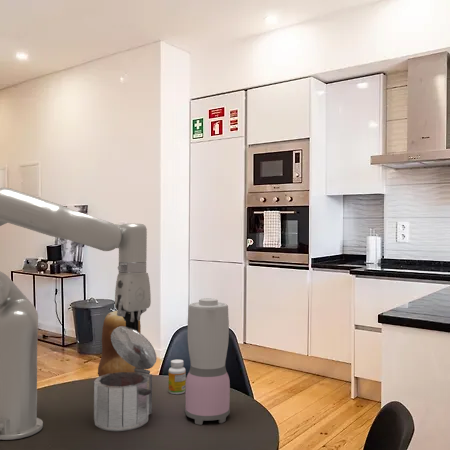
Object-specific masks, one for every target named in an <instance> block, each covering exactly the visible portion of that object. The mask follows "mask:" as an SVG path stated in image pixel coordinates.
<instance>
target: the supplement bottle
mask: <svg viewBox="0 0 450 450" xmlns="http://www.w3.org/2000/svg"><path fill="white" fill-rule="evenodd" d="M184 365H185V364H184V360H183V359H172V360H170V366H171V367H169V369H168V381H167V382H168V388H167V390H168V393H169V394H171V395H182V394H184V393H186V378H187V375H186V374H187V373H186V368H185V367H184Z"/></svg>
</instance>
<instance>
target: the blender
mask: <svg viewBox="0 0 450 450" xmlns="http://www.w3.org/2000/svg"><path fill="white" fill-rule="evenodd" d="M187 313H188V314H187V347H188V354H189V361H190V368H189V371H188V373H187V375H186V389H185V409H184V411H185V412H184V413H185V415H186V416H187V417H188V418H190V419H193V420H194V423H195V425H200V426H201V425H203V424H204V421H206V422H207V421H217V420H218V423H219V424H224V423H225V422H226V421H227V417H228V416H229V415H230V414H231V413H230V412H231V407H230V399H231V398H230V397H231V395H230V392H231V391H230V390H231V384H230V383H231V382H230V376H229V373H228V372H227V368H226V361H227V354H228V347H229V338H230V337H229V334H230V330H229V329H230V325H229V323H230V320H229V306H228V304H226V303H225V302H219V300H218V299H217V298H199V300H198V301H197V302H191V303H189V305H188V311H187Z"/></svg>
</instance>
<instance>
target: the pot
mask: <svg viewBox="0 0 450 450" xmlns="http://www.w3.org/2000/svg"><path fill="white" fill-rule="evenodd" d="M93 383H94V385H93V390H94V391H93V420H94V425H95V427H97V428H98V429H100V430H103V431H107V432H125V431H127V432H128V431H132V430H137V429H139V428H141V427H143V426H145V425H146V424H147V423H148V422H149V416H150V415H151V414H152V413H153V374H152V373H151V374H146V373H141V372H117V373H109V374H106V375H103V376H100V377H99V376H98V377H96V378H95V380H94V381H93Z"/></svg>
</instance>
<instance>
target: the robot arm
mask: <svg viewBox="0 0 450 450" xmlns="http://www.w3.org/2000/svg"><path fill="white" fill-rule="evenodd" d="M6 224H9V225H14V226H18V227H20V228H24V229H27V230H29V231H33V232H36V233H39V234H43V235H46V236H49V237H53V238H58V239H63V240H68V241H70V242H74V243H78V244H80V245H84V246H87V247H90V248H94V249H96V250H99V251H103V252H111V251H113V250H115V249H118V266H117V270H118V274H117V276H116V282H115V289H114V291H115V293H114V305H115V306H114V307H115V311H117V316H122V317H123V318H124V321H126V327H130V328H132V329H134V330H136V331H138V321H139V320H140V321H141V316H142V314H143V313H145V312H147V309H149V308H150V307H151V304H152V297H151V296H152V295H151V284H150V277H149V273H148V272H147V251H148V250H147V246H148V245H147V238H148V237H147V236H148V234H147V233H148V231H147V230H148V229H147V226H146V225H145V224H142V223H123V224H115V223H112V222H110V221H107V220H104V219H101V218H98V217H95V216H92V215H88V214H86V213H83V212H80V211H77V210H74V209H71V208H69V207H67V206H64V205H62V204H59V203H56V202H53V201H50V200H46V199H44V198H41V197H37V196H34V195H32V194H28V193H25V192H22V191H19V190H17V189H13V188H9V187H0V227H1V226H3V225H6ZM38 334H39V314H38V311H37V309H36V307H35V305H34V304H33V303H32V302H31V301H30V299H29V298H27V296H26V295H25V294H24V293H23V291H22V290H21V289H20V288H19V287H18V286H17V285H16V283H15V282H14V281H12V279H11V278H10V277H9V276H8V275H7V274H5V273H4V272H3V271H0V440H3V441H4V440H5V441H9V440H19V439H23V438H27V437H30V436H33V435H35V434H37V433H39V432H40V431H42V429H43V427H44V422H43V420H42V419H41V418H39V417H37V415H38V413H37V411H38V404H37V403H38Z"/></svg>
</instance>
